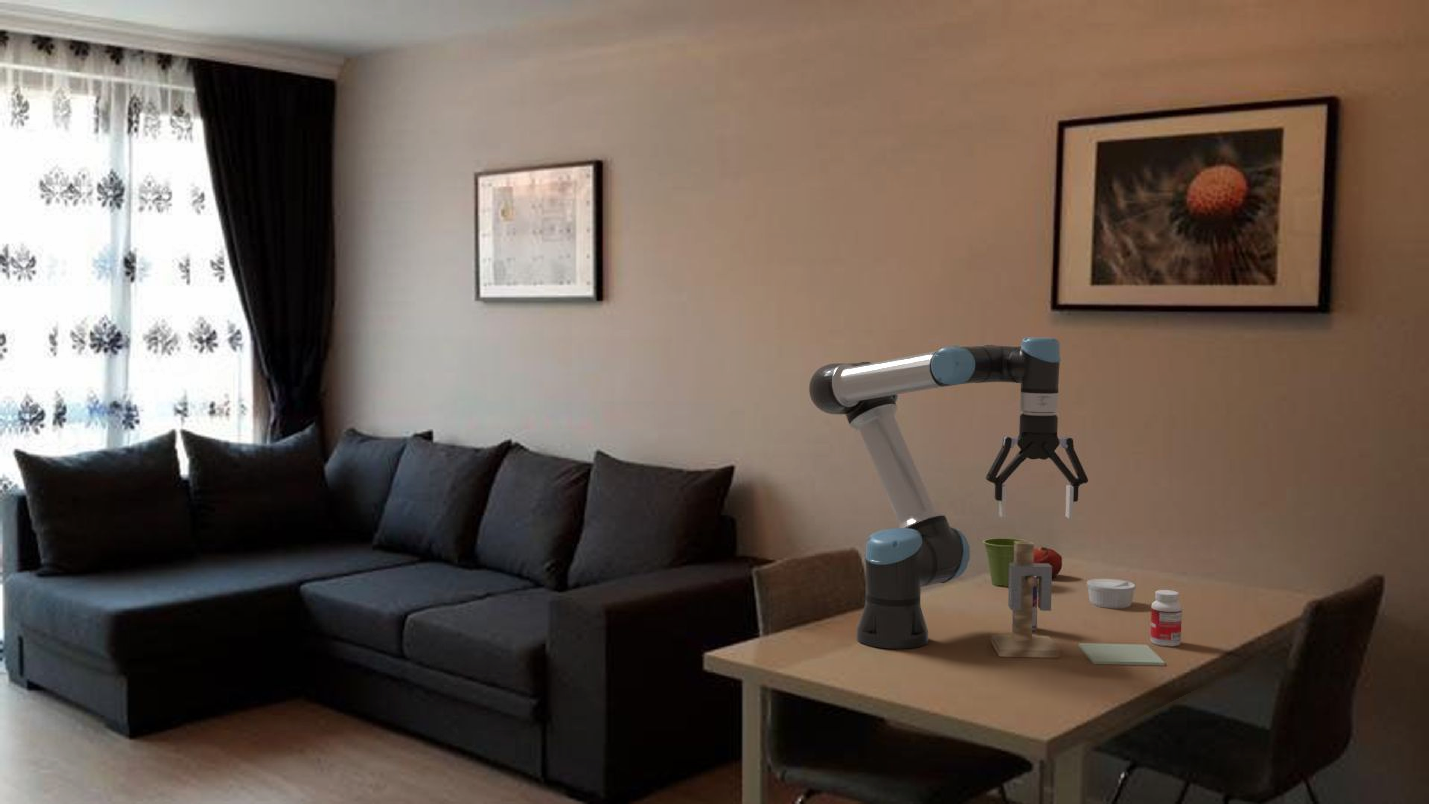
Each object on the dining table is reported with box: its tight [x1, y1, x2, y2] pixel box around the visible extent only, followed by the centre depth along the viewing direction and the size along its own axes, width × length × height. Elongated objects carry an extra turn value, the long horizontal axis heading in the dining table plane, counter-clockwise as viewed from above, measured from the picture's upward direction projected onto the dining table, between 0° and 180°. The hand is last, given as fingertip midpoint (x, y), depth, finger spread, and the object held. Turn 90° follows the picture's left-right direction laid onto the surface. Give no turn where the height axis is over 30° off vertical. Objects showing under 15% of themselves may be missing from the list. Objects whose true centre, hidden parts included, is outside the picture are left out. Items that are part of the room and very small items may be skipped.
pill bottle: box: [1150, 589, 1183, 648], centre depth 271 cm, size 6×6×11 cm
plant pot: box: [982, 537, 1027, 587], centre depth 331 cm, size 12×12×11 cm
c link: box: [1007, 563, 1053, 612], centre depth 260 cm, size 8×4×9 cm, turn 86°
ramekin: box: [1086, 578, 1136, 609], centre depth 308 cm, size 11×11×5 cm
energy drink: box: [1011, 576, 1039, 632], centre depth 283 cm, size 5×5×12 cm
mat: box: [1078, 642, 1166, 666], centre depth 262 cm, size 14×14×1 cm
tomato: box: [1034, 546, 1063, 578], centre depth 341 cm, size 9×9×8 cm
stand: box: [990, 540, 1060, 659], centre depth 264 cm, size 12×15×22 cm
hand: (1035, 517), depth 260 cm, fingers open, 13 cm apart
